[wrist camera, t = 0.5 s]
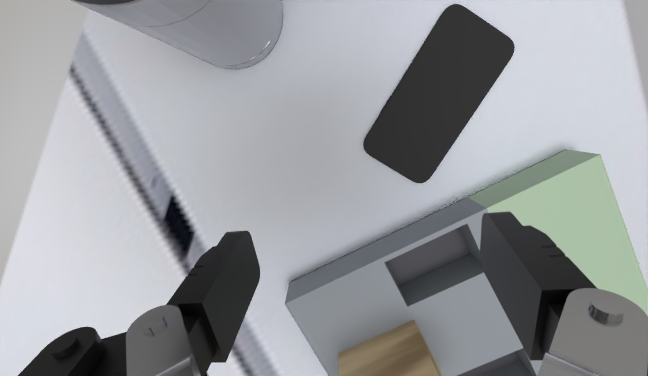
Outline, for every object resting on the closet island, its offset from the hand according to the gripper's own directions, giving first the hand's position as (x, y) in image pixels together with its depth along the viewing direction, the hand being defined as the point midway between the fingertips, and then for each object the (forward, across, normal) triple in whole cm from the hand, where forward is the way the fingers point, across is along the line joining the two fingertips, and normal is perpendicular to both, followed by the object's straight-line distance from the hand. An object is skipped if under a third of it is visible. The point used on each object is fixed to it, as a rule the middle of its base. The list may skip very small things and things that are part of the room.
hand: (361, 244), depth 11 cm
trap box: (+18, -8, +20) cm, 28 cm away
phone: (+22, -7, 0) cm, 24 cm away
